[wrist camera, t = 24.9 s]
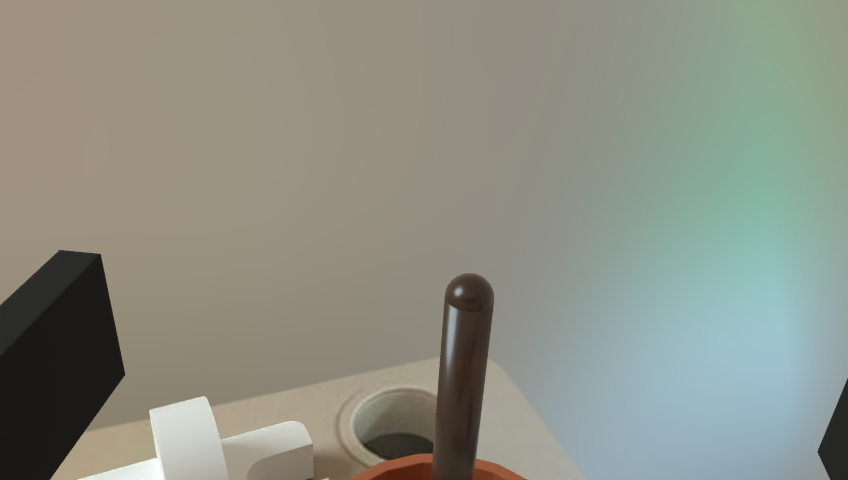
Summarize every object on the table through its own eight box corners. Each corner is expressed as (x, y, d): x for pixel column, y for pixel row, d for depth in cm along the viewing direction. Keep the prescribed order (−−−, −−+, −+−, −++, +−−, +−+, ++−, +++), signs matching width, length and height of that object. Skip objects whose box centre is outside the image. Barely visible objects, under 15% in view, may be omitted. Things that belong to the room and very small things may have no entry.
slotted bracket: (302, 450, 44) (297, 344, 40) (343, 543, 38) (342, 430, 34) (58, 523, 39) (26, 409, 35) (66, 641, 33) (29, 522, 29)
